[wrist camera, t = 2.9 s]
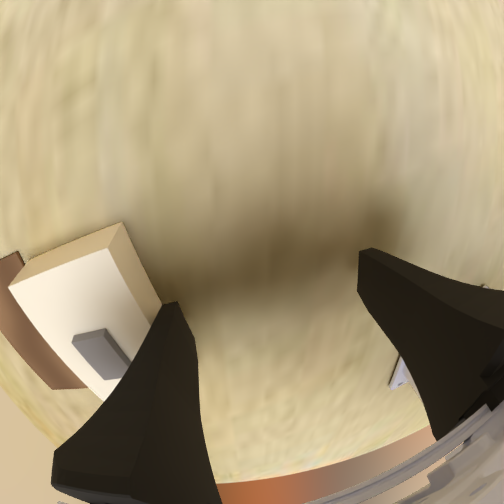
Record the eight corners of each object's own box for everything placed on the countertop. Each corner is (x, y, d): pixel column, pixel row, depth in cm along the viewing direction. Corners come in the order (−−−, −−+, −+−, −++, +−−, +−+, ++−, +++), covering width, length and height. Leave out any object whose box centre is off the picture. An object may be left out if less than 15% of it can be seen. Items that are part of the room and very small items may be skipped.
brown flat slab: (17, 251, 8) (16, 253, 8) (109, 383, 13) (109, 385, 13) (-32, 276, 8) (-34, 277, 8) (52, 387, 12) (52, 389, 12)
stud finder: (124, 217, 9) (103, 254, 7) (195, 357, 13) (199, 402, 11) (32, 255, 9) (3, 293, 6) (115, 373, 13) (109, 413, 11)
